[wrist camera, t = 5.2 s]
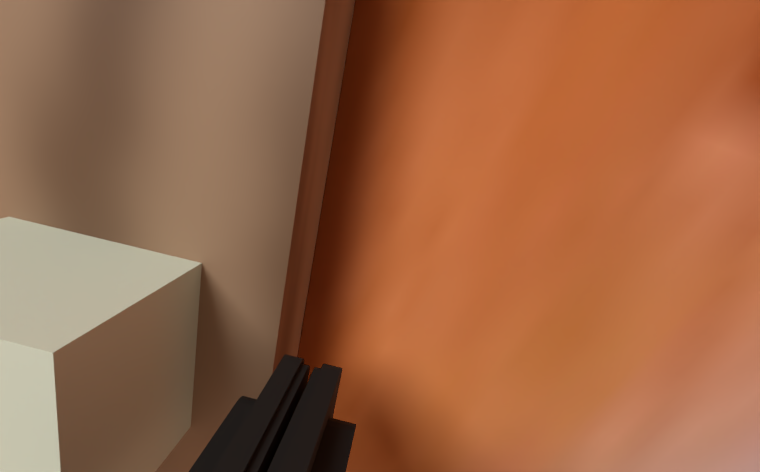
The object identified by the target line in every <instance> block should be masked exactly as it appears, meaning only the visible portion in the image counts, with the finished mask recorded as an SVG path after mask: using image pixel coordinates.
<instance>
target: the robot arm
mask: <svg viewBox="0 0 760 472" xmlns="http://www.w3.org/2000/svg"><path fill="white" fill-rule="evenodd" d="M309 369H310V366H309V365H305V364H304V359H303V358H299V357H295V356H291V355H286V354H285V355H284V356H283V358H282V359H281V361H280V362H279V364H278V366H277V367H276V369H275V371H274V372H273V374H272V375H271V377H270V379H269V380H268V382H267V384H266V385H265V387H264V388H263V390H262V392H261V393H260V395H259V397H258V398H257V399H254V398H250V397H246V396H242V397H240V398H239V399H238V401H237V402H236V403H235V405H234V406H233V408H232V409H231V411H230V412H229V413H228V415H227V416H226V418H225V419H224V421H223V422H222V424H221V425H220V427H219V428H218V430H217V431H216V432H215V434H214V435H213V437H212V438H211V440H210V441H209V443H208V444H207V446H206V447H205V448H204V450H203V451H202V453H201V454H200V456H199V457H198V459H197V460H196V462H195V463H194V465H193V466H192V467H191V469H190V470H189V472H346V467H347V463H348V458H349V454H350V449H351V445H352V441H353V436H354V432H355V427H356V424H352V423H349V422H345V421H341V420H337V419H333V413H334V408H335V403H336V398H337V393H338V388H339V383H340V378H341V373H342V368H339V367H335V366H331V365H327V364H323V366H322V368H317V367H315V368H314V370H313V372H312V374H311V376H310V379H309V381H308V375H309ZM307 381H308V383H307Z"/></svg>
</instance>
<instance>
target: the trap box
mask: <svg viewBox="0 0 760 472" xmlns="http://www.w3.org/2000/svg"><path fill="white" fill-rule="evenodd" d="M354 6H355V0H0V218H5V217H13V218H17V219H21V220H25V221H29V222H34V223H38V224H42V225H46V226H50V227H54V228H58V229H63V230H67V231H71V232H75V233H79V234H83V235H88V236H92V237H96V238H100V239H104V240H108V241H112V242H117V243H121V244H125V245H129V246H133V247H137V248H141V249H146V250H150V251H154V252H158V253H162V254H166V255H170V256H175V257H179V258H183V259H187V260H191V261H195V262H200V263H202V268H201V283H200V297H199V312H198V327H197V342H196V356H195V371H194V386H193V400H192V415H191V427H190V428H189V429H188V431H187V432H186V433H185V434H184V436H183V437H182V438H181V440H180V441H179V442H178V443H177V445H176V446H175V447H174V449H173V450H172V451H171V452H170V454H169V455H168V456H167V457H166V459H165V460H164V461H163V463H162V464H161V465H160V466H159V468H158V469H157V470H156V472H189V470H190V469H191V467H192V466H193V465H194V463H195V462H196V460H197V459H198V457H199V456H200V454H201V453H202V451H203V450H204V448H205V447H206V446H207V444H208V443H209V441H210V440H211V438H212V437H213V435H214V434H215V432H216V431H217V430H218V428H219V427H220V425H221V424H222V422H223V421H224V419H225V418H226V416H227V415H228V413H229V412H230V411H231V409H232V408H233V406H234V405H235V403H236V402H237V401H238V399H239V398H240V397H242V396H246V397H250V398H254V399H257V398H258V397H259V395H260V393H261V392H262V390H263V388H264V387H265V385H266V384H267V382H268V380H269V379H270V377H271V375H272V374H273V372H274V371H275V369H276V367H277V366H278V364H279V362H280V361H281V359H282V358H283V356H284V355H285V354H286V355H291V356H295V357H297V355H298V349H299V343H300V337H301V331H302V324H303V318H304V312H305V306H306V300H307V294H308V288H309V282H310V275H311V269H312V263H313V257H314V251H315V245H316V239H317V233H318V226H319V220H320V214H321V208H322V202H323V196H324V190H325V184H326V177H327V171H328V165H329V159H330V153H331V147H332V141H333V135H334V128H335V122H336V116H337V110H338V104H339V98H340V92H341V86H342V79H343V73H344V67H345V61H346V55H347V49H348V43H349V37H350V30H351V24H352V18H353V12H354Z"/></svg>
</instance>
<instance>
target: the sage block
mask: <svg viewBox="0 0 760 472" xmlns="http://www.w3.org/2000/svg"><path fill="white" fill-rule="evenodd" d="M201 268H202V263H200V262H195V261H191V260H187V259H183V258H179V257H175V256H170V255H166V254H162V253H158V252H154V251H150V250H146V249H141V248H137V247H133V246H129V245H125V244H121V243H117V242H112V241H108V240H104V239H100V238H96V237H92V236H88V235H83V234H79V233H75V232H71V231H67V230H63V229H58V228H54V227H50V226H46V225H42V224H38V223H34V222H29V221H25V220H21V219H17V218H13V217H5V218H0V472H156V470H157V469H158V468H159V466H160V465H161V464H162V463H163V461H164V460H165V459H166V457H167V456H168V455H169V454H170V452H171V451H172V450H173V449H174V447H175V446H176V445H177V443H178V442H179V441H180V440H181V438H182V437H183V436H184V434H185V433H186V432H187V431H188V429H189V428H190V427H191V415H192V400H193V386H194V371H195V356H196V342H197V327H198V312H199V297H200V283H201Z"/></svg>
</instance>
